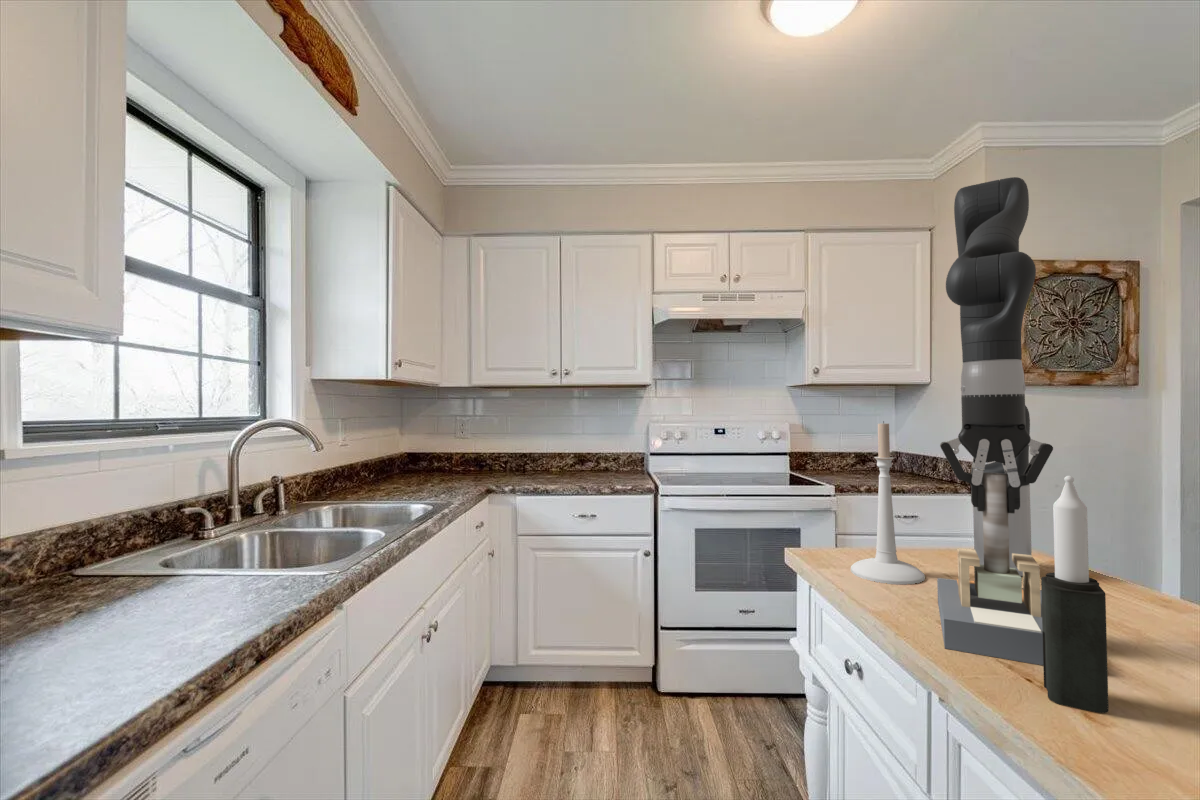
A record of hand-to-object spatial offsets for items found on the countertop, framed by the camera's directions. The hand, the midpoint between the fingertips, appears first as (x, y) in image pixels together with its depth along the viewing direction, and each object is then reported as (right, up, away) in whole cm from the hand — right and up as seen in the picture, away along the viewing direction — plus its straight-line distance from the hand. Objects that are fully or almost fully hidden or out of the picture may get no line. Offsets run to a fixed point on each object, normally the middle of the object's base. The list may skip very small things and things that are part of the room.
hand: (995, 510), depth 79 cm
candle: (-4, -18, -18) cm, 25 cm away
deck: (+1, -18, 0) cm, 18 cm away
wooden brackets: (0, -14, 0) cm, 14 cm away
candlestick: (-1, -18, +28) cm, 33 cm away
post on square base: (0, -12, 0) cm, 12 cm away
